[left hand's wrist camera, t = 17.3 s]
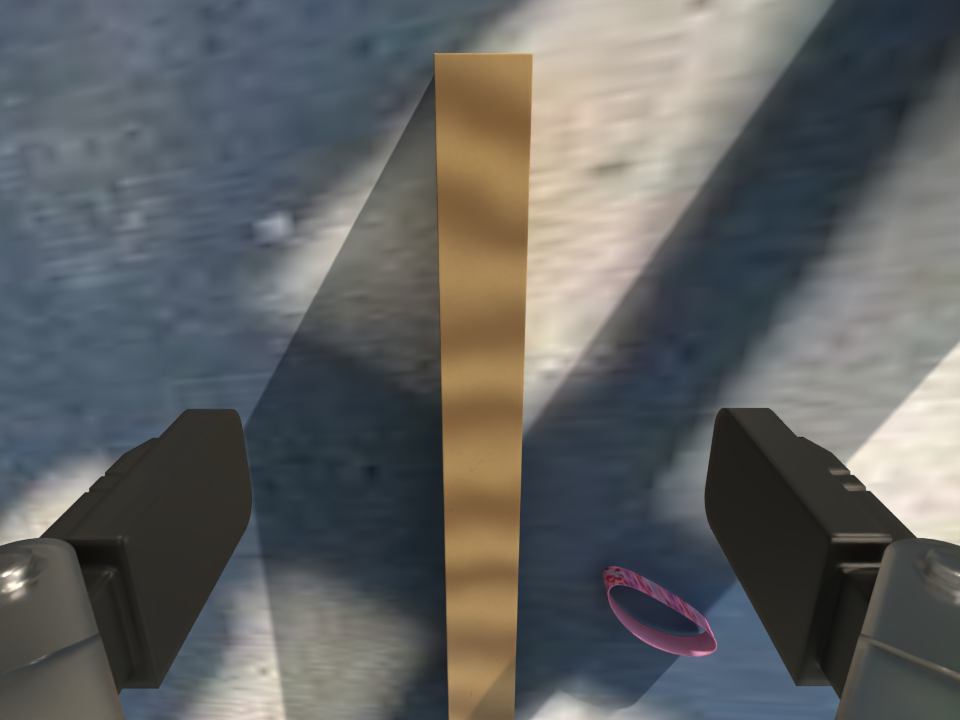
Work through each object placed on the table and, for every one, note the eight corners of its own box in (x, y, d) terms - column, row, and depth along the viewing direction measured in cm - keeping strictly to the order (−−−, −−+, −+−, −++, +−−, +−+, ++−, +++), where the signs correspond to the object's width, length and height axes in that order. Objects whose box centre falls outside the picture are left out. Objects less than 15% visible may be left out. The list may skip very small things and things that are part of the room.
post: (441, 61, 38) (433, 53, 32) (524, 61, 38) (533, 53, 32) (453, 717, 58) (450, 790, 52) (508, 717, 58) (512, 790, 52)
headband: (583, 591, 53) (588, 610, 51) (614, 557, 52) (620, 575, 49) (685, 651, 55) (694, 672, 53) (717, 620, 54) (727, 640, 52)
